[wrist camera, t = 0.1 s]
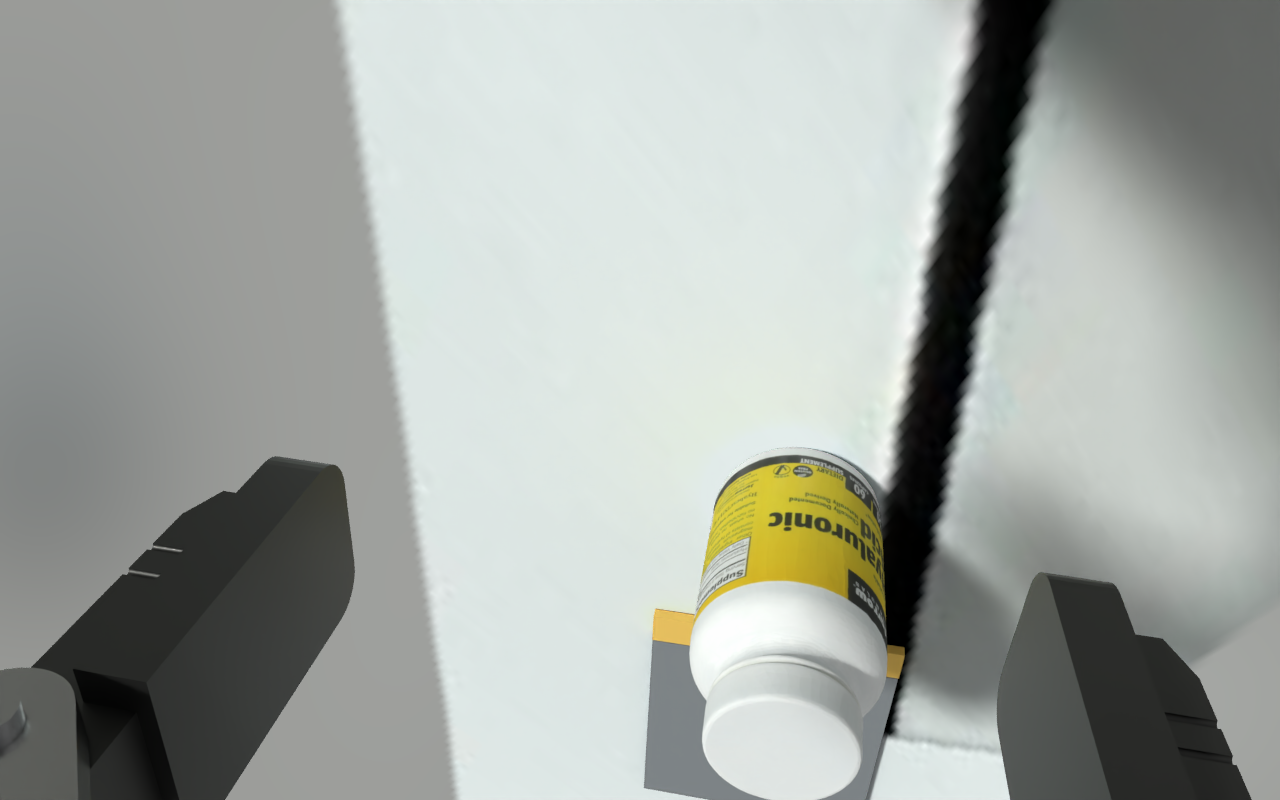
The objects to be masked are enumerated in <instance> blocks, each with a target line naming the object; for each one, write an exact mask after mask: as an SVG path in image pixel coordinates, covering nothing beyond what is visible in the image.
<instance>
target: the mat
mask: <svg viewBox="0 0 1280 800" xmlns="http://www.w3.org/2000/svg"><path fill="white" fill-rule="evenodd" d="M694 617H695V615H691V614H685V613H678V612H672V611H666V610H659V609H655V614H654V621H653V638H652V640H653V644H652V661H651V678H650V695H649V712H648V729H647V746H646V763H645V780H644V788H647V789H652V790H658V791H664V792H669V793H675V794H680V795H686V796H692V797H697V798H703V799H708V800H769V799H764V798H760V797H757V796H754V795H751V794H748V793H746V792H744V791H742V790H740V789H738V788H736V787H734V786H733V785H731V784H730V783H728V782H727V781H725V780H724V779H723V778H722V777H721V776H719V775H718V773H717V772H716V771H715V770H714V769H713V768H712V767H711V765H710V764H709V762H708V760H707V758H706V756H705V754H704V750H703V745H702V732H703V724H704V715H705V707H706V702H707V701H706V699H705V698H704V697H703V696H702V694H701V692H700V691H699V689H698V687H697V685H696V683H695V681H694V678H693V675H692V672H691V667H690V656H689V652H690V641H691V633H692V628H693V622H694ZM904 657H905V650H904V647H899V646H893V645H887V674H886V681H885V684H884V688H883V690H882V693H881V695H880V697H879V699H878V701H877V702H876V704H875V705H874V706H873V708H872V709H871V710H870V711H869V712H868V713H867V714H866V715H865V716H864V717H863V756H862V763H861V766H860V769H859V771H858V773H857V775H856V777H855V778H854V779H853V780H852V782H851V783H850V784H849V785H847V786H846V787H845V788H844V789H842V790H841V791H839V792H837V793H835V794H833V795H831V796H828V797H826V798H822V799H818V800H866V797H867V793H868V789H869V786H870V782H871V778H872V774H873V771H874V767H875V763H876V759H877V756H878V752H879V748H880V744H881V741H882V737H883V733H884V729H885V726H886V722H887V718H888V715H889V711H890V707H891V703H892V700H893V696H894V692H895V688H896V685H897V681H898V679H899V676H900V672H901V668H902V665H903V661H904Z"/></svg>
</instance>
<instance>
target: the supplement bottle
mask: <svg viewBox="0 0 1280 800" xmlns="http://www.w3.org/2000/svg"><path fill="white" fill-rule="evenodd" d="M882 536H883V534H882V523H881V514H880V508H879V504H878V500H877V497H876V495H875V493H874V491H873V489H872V487H871V486H870V484H869V483H868V482H867V480H866V479H865V478H864V477H863V476H862V475H861V474H860V473H859V472H858V471H857V470H856V469H855V468H854V467H852V466H851V465H849V464H848V463H847V462H845V461H843V460H841V459H839V458H837V457H835V456H833V455H831V454H828V453H825V452H822V451H818V450H814V449H809V448H799V447H785V448H777V449H772V450H769V451H765V452H762V453H759V454H757V455H755V456H753V457H751V458H749V459H747V460H746V461H744V462H743V463H741V464H740V465H739V466H737V467H736V468H735V469H734V470H733V471H732V472H731V473H730V474H729V476H728V477H727V478H726V480H725V481H724V483H723V484H722V486H721V488H720V491H719V493H718V496H717V499H716V502H715V506H714V512H713V517H712V523H711V528H710V533H709V539H708V545H707V550H706V556H705V562H704V567H703V572H702V578H701V584H700V589H699V595H698V601H697V606H696V611H695V617H694V622H693V628H692V633H691V641H690V652H689V656H690V667H691V672H692V675H693V678H694V681H695V683H696V685H697V687H698V689H699V691H700V692H701V694H702V696H703V697H704V698H705V699H706V701H707V702H706V707H705V715H704V724H703V732H702V745H703V750H704V754H705V756H706V758H707V760H708V762H709V764H710V765H711V767H712V768H713V769H714V770H715V771H716V772H717V773H718V775H719V776H721V777H722V778H723V779H724V780H725V781H727V782H728V783H730V784H731V785H733V786H734V787H736V788H738V789H740V790H742V791H744V792H746V793H748V794H751V795H754V796H757V797H760V798H764V799H769V800H818V799H822V798H826V797H828V796H831V795H833V794H835V793H837V792H839V791H841V790H842V789H844V788H845V787H846V786H847V785H849V784H850V783H851V782H852V780H853V779H854V778H855V777H856V775H857V773H858V771H859V769H860V766H861V763H862V756H863V717H864V716H865V715H866V714H867V713H868V712H869V711H870V710H871V709H872V708H873V706H874V705H875V704H876V702H877V701H878V699H879V697H880V695H881V693H882V690H883V688H884V684H885V681H886V674H887V631H886V613H885V590H884V560H883V542H882Z"/></svg>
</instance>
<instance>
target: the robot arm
mask: <svg viewBox="0 0 1280 800" xmlns="http://www.w3.org/2000/svg"><path fill="white" fill-rule="evenodd" d="M354 568H355V567H354V557H353V549H352V541H351V532H350V524H349V516H348V508H347V499H346V491H345V483H344V478H343V475H342V472H341V470H340V469H339V468H338V467H337V466H336V465H331V464H324V463H318V462H311V461H305V460H297V459H291V458H284V457H276V456H275V457H272V458H270V459H268V460H267V461H266V462H265V463H264V464H263V465H262V466H261V467H260V468H259V469H258V470H257V471H256V472H255V473H254V475H252V476H251V478H250V479H249V480H248V481H247V482H246V483H245V484H244V485H243V486H242V487H241V488H240V490H238V492H237V493H232V492H226V491H223V492H221V493H219V494H217V495H215V496H214V497H212V498H210V499H208V500H206V501H205V502H203V503H201V504H199V505H197V506H196V507H194V508H192V509H191V510H188V511H187V512H185V513H183V514H182V515H181V516H180V517H179V518H178V519H177V520H176V521H175V522H174V523H173V524H172V525H171V526H170V527H169V528H168V529H167V530H166V531H165V532H164V533H163V534H162V535H161V536H160V537H159V538H158V539H157V540H156V541H155V542H154V543H153V548H152V550H146V551H145V552H144V553H143V554H142V555H141V556H140V557H139V558H138V559H137V560H136V561H135V562H134V563H133V564H132V565H131V566H130V568H129V572H128V574H127V575H122V576H121V577H120V578H119V579H118V580H117V581H116V582H115V583H114V584H113V585H112V586H111V587H110V588H109V589H108V590H107V591H106V592H105V593H104V594H103V595H102V596H101V597H100V598H99V599H98V600H97V601H96V602H95V603H94V604H93V605H92V606H91V607H90V608H89V609H88V610H87V611H86V612H85V613H84V614H83V615H82V616H81V617H80V618H79V619H78V620H77V621H76V622H75V624H74V625H72V626H71V627H70V628H69V629H68V631H67V632H66V633H65V634H64V635H63V636H62V637H61V638H60V639H59V640H58V641H57V642H56V643H55V644H54V645H53V646H52V647H51V648H50V649H49V650H48V651H47V652H46V653H45V654H44V655H43V656H42V657H41V658H40V659H39V660H38V661H37V662H36V663H35V664H34V665H33V666H32V667H31V668H12V669H4V670H0V800H225V799H226V797H227V796H228V794H229V792H230V791H231V789H232V788H233V786H234V785H235V783H236V782H237V780H238V779H239V777H240V775H241V774H242V772H243V771H244V769H245V768H246V766H247V765H248V763H249V762H250V760H251V758H252V757H253V755H254V754H255V752H256V751H257V749H258V748H259V746H260V744H261V743H262V741H263V740H264V738H265V737H266V735H267V734H268V732H269V730H270V729H271V727H272V726H273V724H274V723H275V721H276V720H277V718H278V716H279V715H280V713H281V712H282V710H283V709H284V707H285V706H286V704H287V702H288V701H289V699H290V698H291V696H292V695H293V693H294V692H295V690H296V689H297V687H298V685H299V684H300V682H301V681H302V679H303V678H304V676H305V675H306V673H307V672H308V670H309V668H310V667H311V665H312V664H313V662H314V661H315V659H316V657H317V656H318V654H319V653H320V651H321V650H322V648H323V647H324V645H325V644H326V642H327V640H328V639H329V637H330V636H331V634H332V633H333V631H334V630H335V628H336V626H337V625H338V623H339V622H340V620H341V619H342V617H343V615H344V613H345V611H346V609H347V606H348V603H349V600H350V597H351V593H352V589H353V583H354V573H355V570H354ZM997 725H998V733H999V739H1000V745H1001V750H1002V756H1003V762H1004V767H1005V773H1006V778H1007V784H1008V789H1009V795H1010V800H1251V797H1250V795H1249V793H1248V791H1247V788H1246V786H1245V783H1244V781H1243V779H1242V776H1241V774H1240V772H1239V769H1238V767H1237V765H1233V764H1232V757H1233V756H1232V753H1231V751H1230V749H1229V746H1228V744H1227V742H1226V739H1225V737H1224V735H1223V732H1222V730H1221V729H1217V719H1216V716H1215V714H1214V712H1213V709H1212V707H1211V705H1210V702H1209V700H1208V698H1207V695H1206V693H1205V691H1204V689H1203V686H1202V684H1201V682H1200V679H1199V678H1198V677H1197V675H1196V674H1195V673H1194V672H1193V671H1192V670H1191V669H1190V668H1189V667H1188V666H1187V665H1186V664H1185V662H1184V661H1183V660H1182V659H1181V658H1180V657H1179V656H1178V655H1177V654H1176V653H1175V652H1174V651H1173V650H1172V648H1171V647H1170V646H1169V645H1168V644H1167V643H1166V642H1165V641H1164V640H1163V639H1161V638H1154V637H1148V636H1141V635H1135V632H1134V630H1133V627H1132V624H1131V622H1130V619H1129V616H1128V614H1127V611H1126V608H1125V606H1124V603H1123V600H1122V598H1121V595H1120V593H1119V591H1118V589H1117V587H1116V586H1115V585H1114V584H1113V583H1109V582H1103V581H1096V580H1089V579H1083V578H1076V577H1069V576H1063V575H1056V574H1049V573H1042V572H1041V573H1038V574H1037V575H1036V576H1035V578H1034V579H1033V581H1032V583H1031V586H1030V589H1029V592H1028V595H1027V598H1026V601H1025V604H1024V607H1023V610H1022V613H1021V616H1020V619H1019V622H1018V625H1017V628H1016V631H1015V634H1014V637H1013V640H1012V643H1011V646H1010V649H1009V653H1008V656H1007V659H1006V662H1005V665H1004V668H1003V671H1002V674H1001V679H1000V683H999V690H998V699H997Z"/></svg>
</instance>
